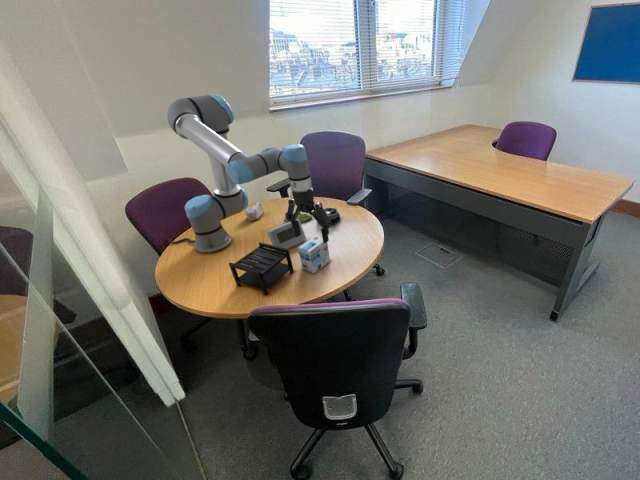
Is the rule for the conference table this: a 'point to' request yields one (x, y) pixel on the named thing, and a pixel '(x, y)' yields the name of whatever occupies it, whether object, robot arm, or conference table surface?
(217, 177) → the robot arm
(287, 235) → the digital clock
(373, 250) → the conference table surface
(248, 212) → the mineral specimen
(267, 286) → the rack
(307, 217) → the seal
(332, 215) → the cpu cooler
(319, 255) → the light bulb box
